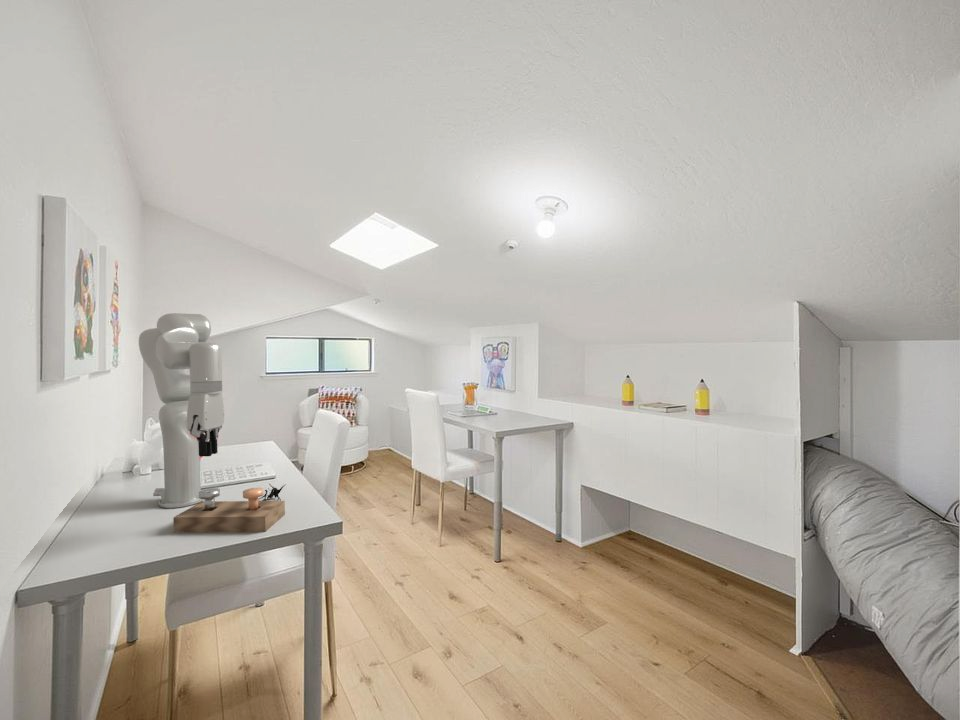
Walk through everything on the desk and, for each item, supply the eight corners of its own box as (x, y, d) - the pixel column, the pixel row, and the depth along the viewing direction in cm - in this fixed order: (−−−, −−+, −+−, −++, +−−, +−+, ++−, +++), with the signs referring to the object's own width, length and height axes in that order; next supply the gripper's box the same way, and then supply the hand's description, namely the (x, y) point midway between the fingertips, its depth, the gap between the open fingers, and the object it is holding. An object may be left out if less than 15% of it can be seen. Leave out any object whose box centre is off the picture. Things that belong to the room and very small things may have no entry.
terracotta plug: (239, 513, 123) (239, 493, 123) (249, 506, 128) (248, 487, 128) (258, 513, 123) (257, 493, 123) (266, 506, 128) (266, 487, 128)
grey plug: (195, 513, 123) (194, 494, 123) (206, 507, 128) (205, 488, 128) (213, 513, 123) (213, 493, 123) (224, 507, 128) (223, 488, 128)
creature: (275, 509, 139) (290, 495, 146) (272, 494, 137) (288, 480, 145) (252, 508, 140) (269, 494, 148) (249, 492, 139) (266, 479, 147)
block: (173, 532, 119) (173, 517, 119) (201, 515, 131) (201, 501, 131) (265, 531, 120) (265, 516, 119) (284, 514, 132) (284, 500, 131)
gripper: (209, 385, 132) (211, 448, 133) (173, 391, 116) (175, 462, 117) (235, 385, 132) (237, 448, 133) (202, 390, 116) (204, 462, 117)
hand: (208, 454), depth 125 cm, fingers closed
